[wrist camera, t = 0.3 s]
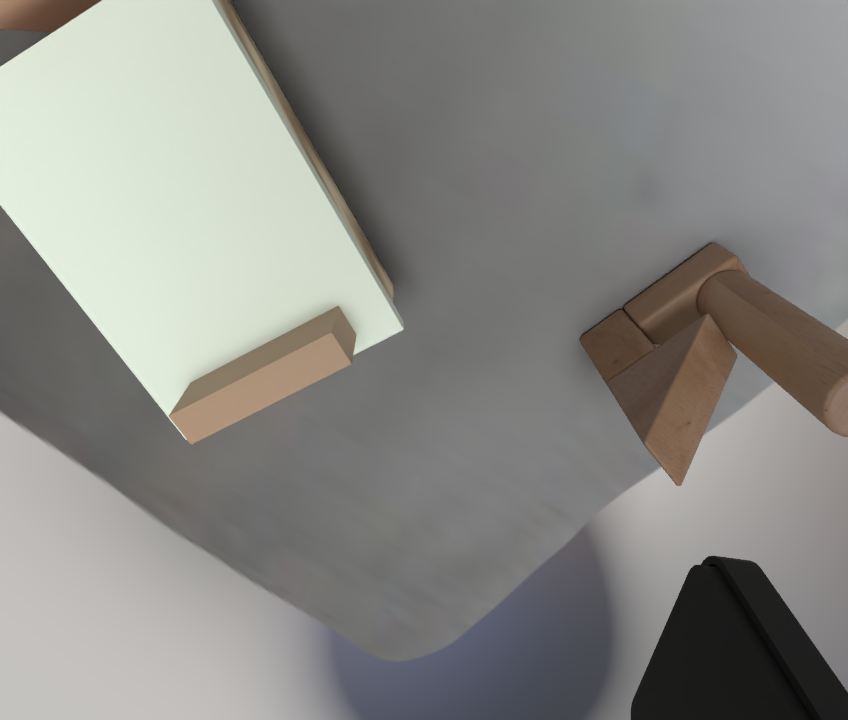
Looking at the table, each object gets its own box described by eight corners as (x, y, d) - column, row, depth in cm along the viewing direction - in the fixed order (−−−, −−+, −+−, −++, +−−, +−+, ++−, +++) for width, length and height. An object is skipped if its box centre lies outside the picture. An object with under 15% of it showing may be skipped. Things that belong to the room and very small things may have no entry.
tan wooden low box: (21, 107, 40) (-40, 116, 34) (219, -19, 37) (187, -31, 32) (218, 376, 47) (194, 418, 42) (393, 285, 45) (392, 317, 40)
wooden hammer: (576, 337, 47) (669, 488, 30) (712, 238, 44) (893, 347, 28) (605, 373, 48) (709, 538, 32) (739, 280, 45) (928, 407, 29)
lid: (-57, 112, 34) (-131, 121, 29) (188, -48, 32) (150, -67, 27) (191, 429, 42) (164, 477, 37) (403, 322, 39) (403, 358, 35)
